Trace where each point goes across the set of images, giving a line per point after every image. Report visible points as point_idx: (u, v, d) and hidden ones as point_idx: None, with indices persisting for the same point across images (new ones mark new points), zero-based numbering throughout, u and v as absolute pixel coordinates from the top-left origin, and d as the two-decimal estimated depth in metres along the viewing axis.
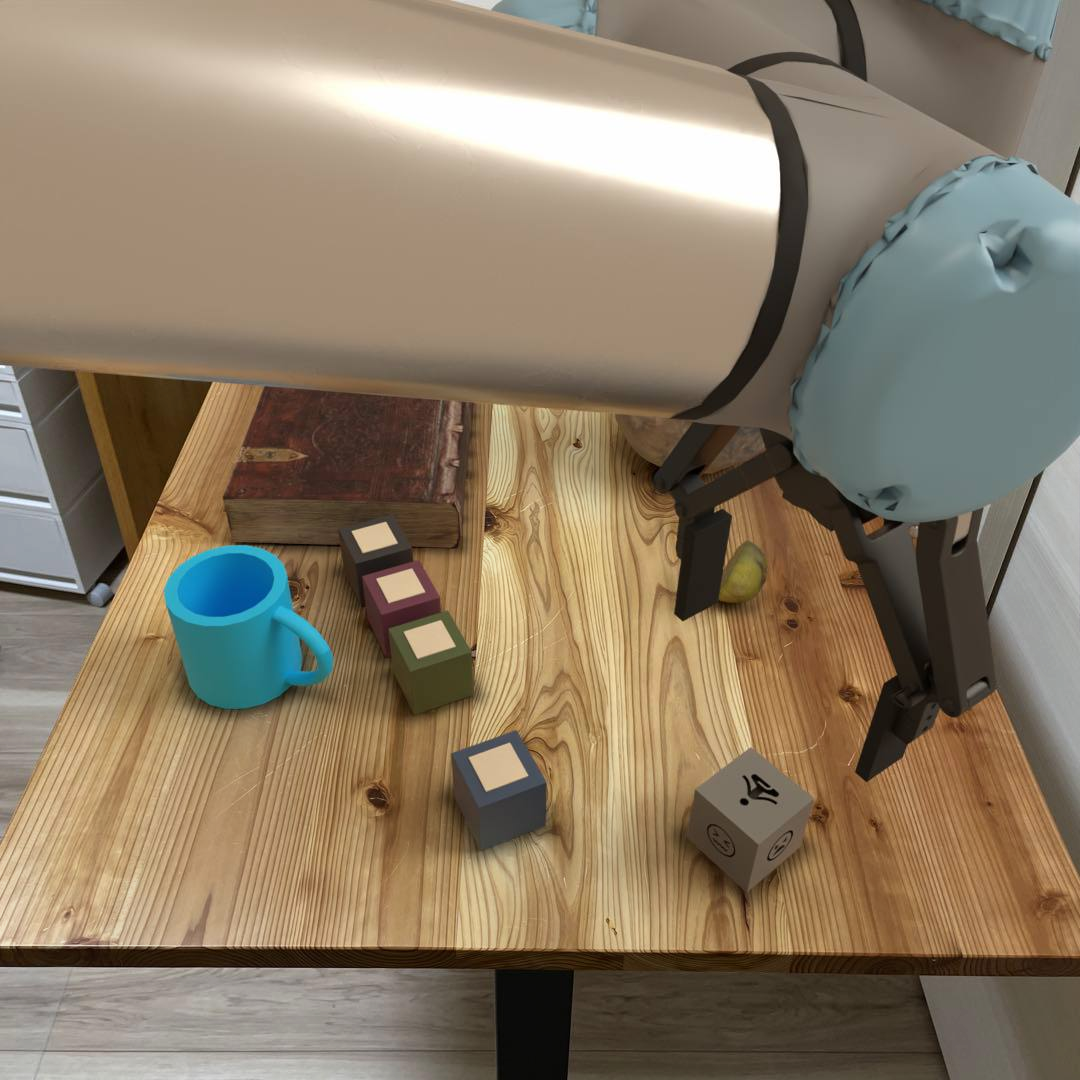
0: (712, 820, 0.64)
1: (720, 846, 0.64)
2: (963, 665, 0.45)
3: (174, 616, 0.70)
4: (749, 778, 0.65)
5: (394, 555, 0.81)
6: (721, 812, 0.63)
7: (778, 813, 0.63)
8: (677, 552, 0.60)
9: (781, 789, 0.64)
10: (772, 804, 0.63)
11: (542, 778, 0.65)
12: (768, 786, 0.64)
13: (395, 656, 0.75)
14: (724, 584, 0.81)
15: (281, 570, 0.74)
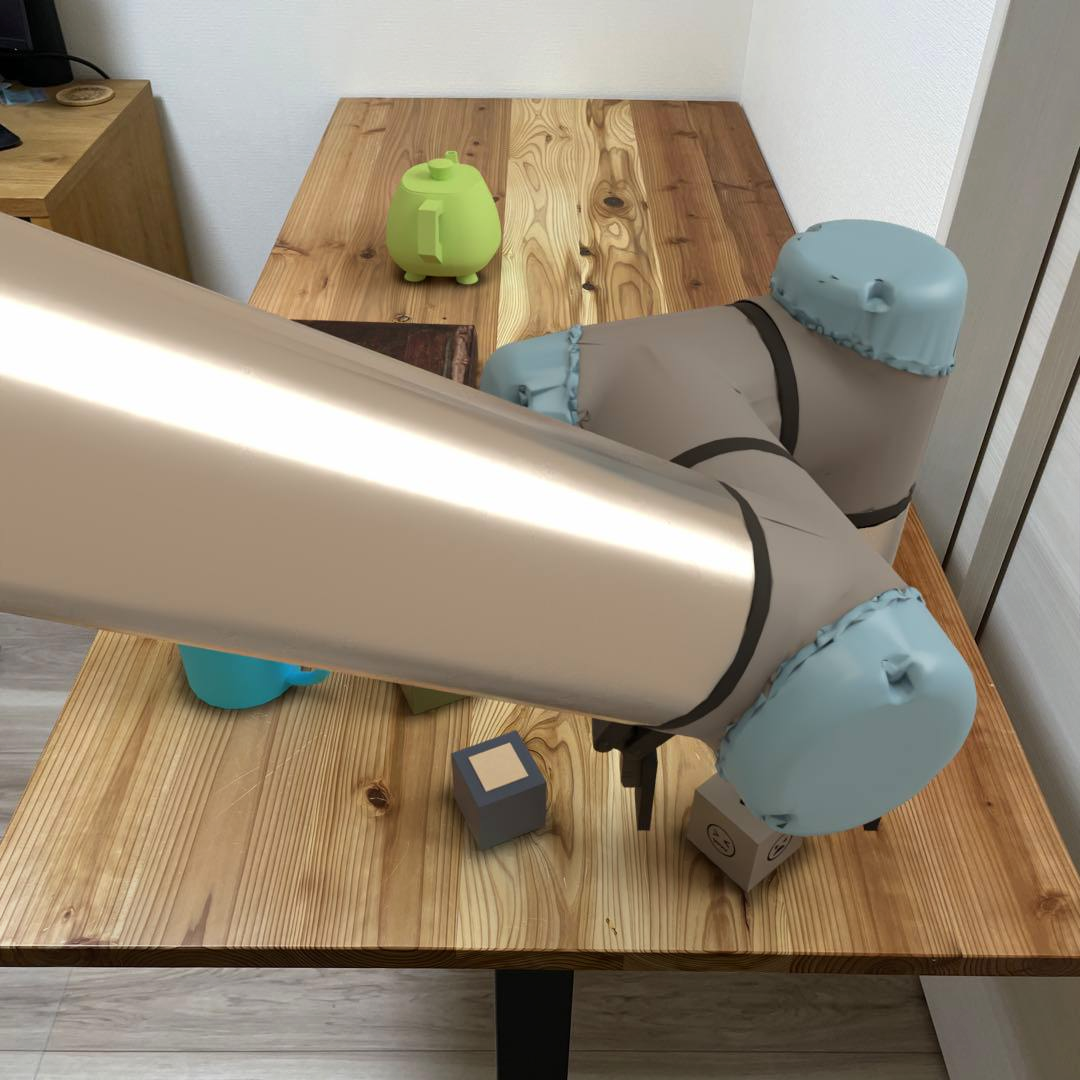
0: (712, 820, 0.64)
1: (720, 846, 0.64)
2: None
3: None
4: None
5: None
6: (721, 812, 0.63)
7: None
8: (624, 784, 0.62)
9: None
10: None
11: (542, 778, 0.65)
12: None
13: None
14: None
15: None
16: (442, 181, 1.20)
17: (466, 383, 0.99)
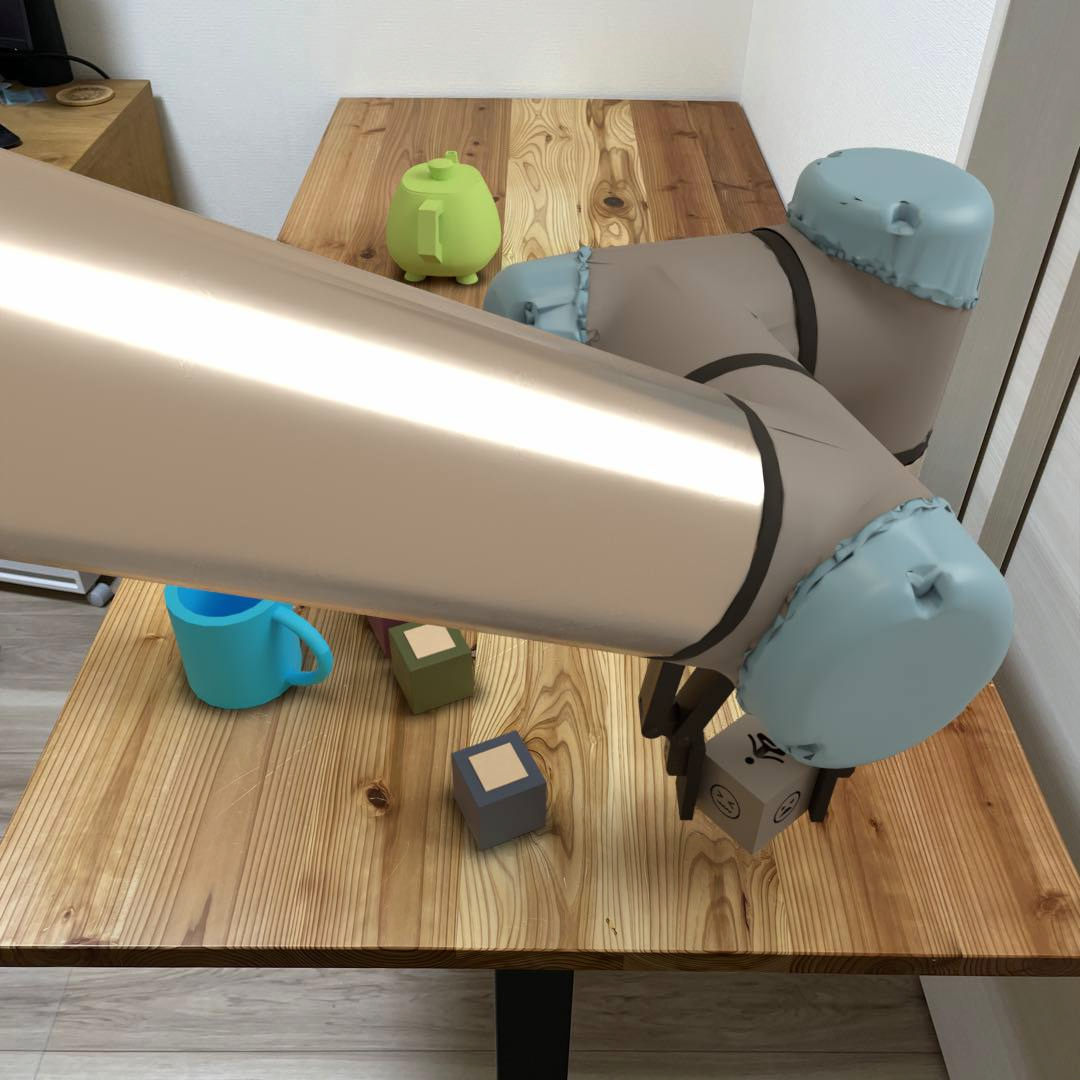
0: (716, 780, 0.61)
1: (724, 808, 0.62)
2: None
3: (174, 616, 0.70)
4: (754, 737, 0.62)
5: None
6: (726, 771, 0.60)
7: (784, 772, 0.60)
8: (669, 772, 0.61)
9: None
10: (779, 763, 0.60)
11: (542, 778, 0.65)
12: (774, 745, 0.62)
13: (395, 656, 0.75)
14: None
15: None
16: (442, 181, 1.20)
17: None
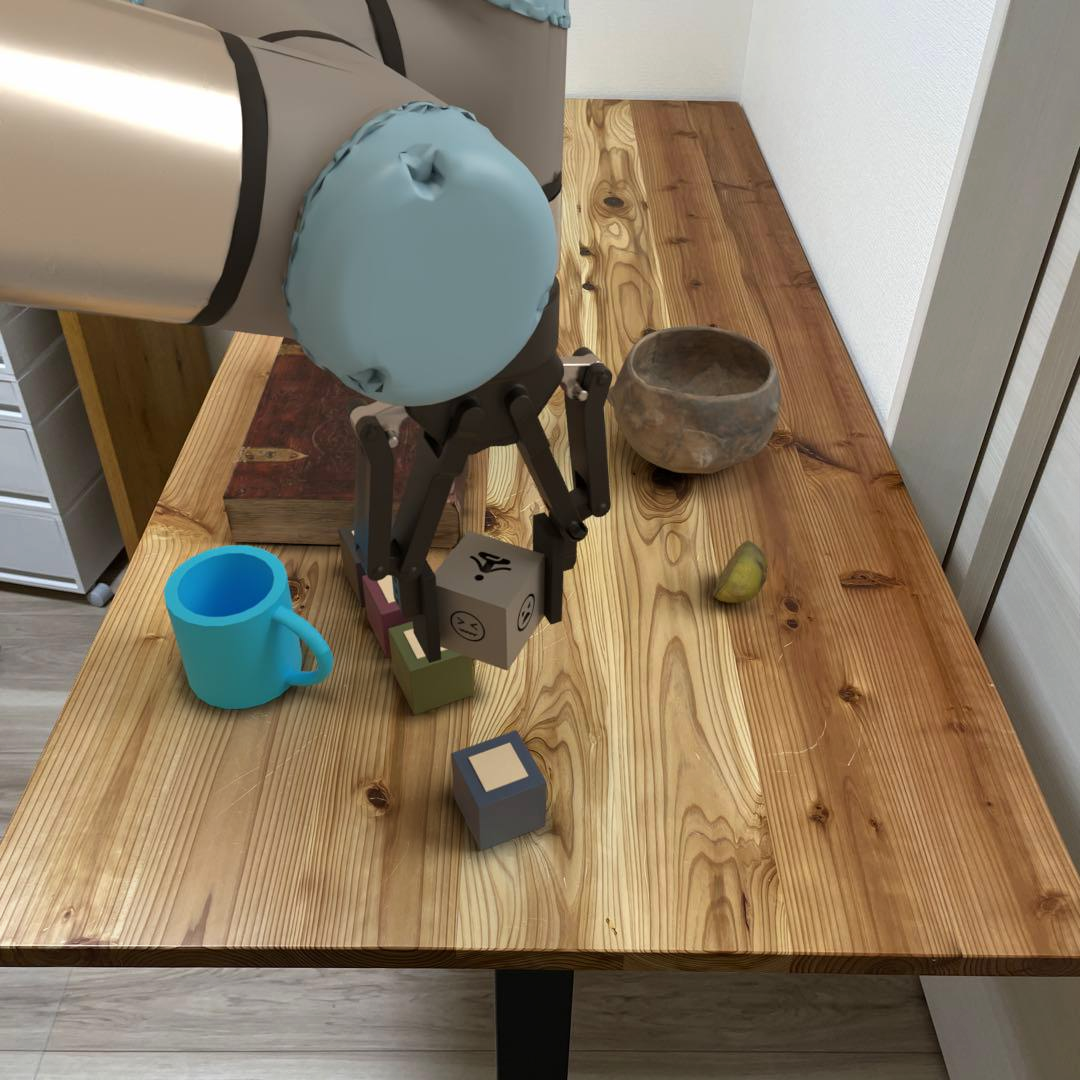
0: (453, 608, 0.60)
1: (468, 633, 0.61)
2: None
3: (174, 616, 0.70)
4: (477, 556, 0.62)
5: None
6: (460, 593, 0.59)
7: (514, 577, 0.60)
8: (405, 615, 0.60)
9: (511, 556, 0.62)
10: (507, 571, 0.61)
11: (542, 778, 0.65)
12: (497, 558, 0.62)
13: (395, 656, 0.75)
14: (724, 584, 0.81)
15: (281, 570, 0.74)
16: None
17: None
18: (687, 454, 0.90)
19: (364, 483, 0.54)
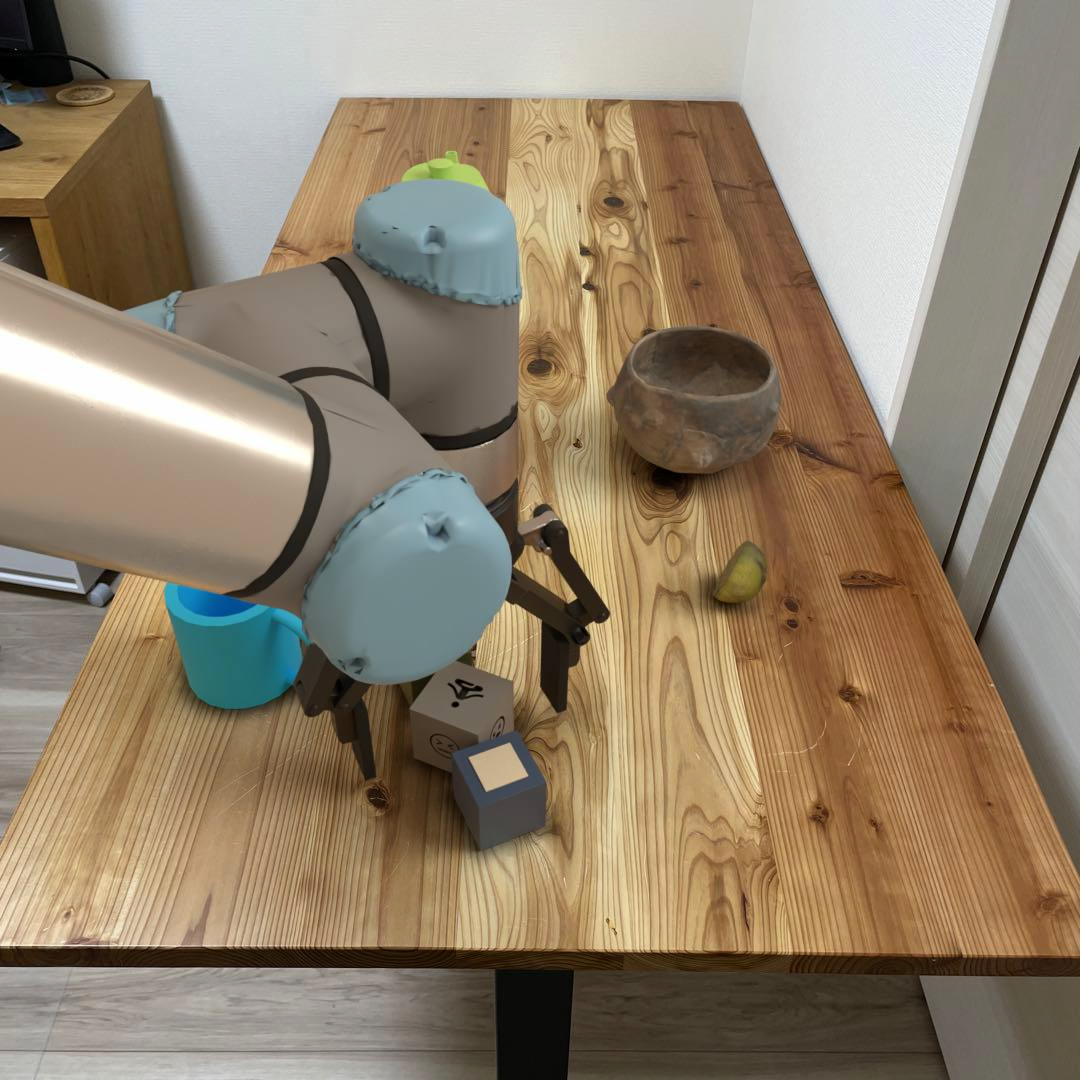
0: (432, 731, 0.69)
1: (446, 752, 0.70)
2: None
3: (174, 616, 0.70)
4: (453, 684, 0.70)
5: None
6: (438, 720, 0.68)
7: (486, 703, 0.69)
8: (342, 741, 0.66)
9: (483, 683, 0.70)
10: (480, 698, 0.69)
11: (542, 778, 0.65)
12: (472, 685, 0.70)
13: None
14: (724, 584, 0.81)
15: None
16: None
17: None
18: (687, 454, 0.90)
19: None
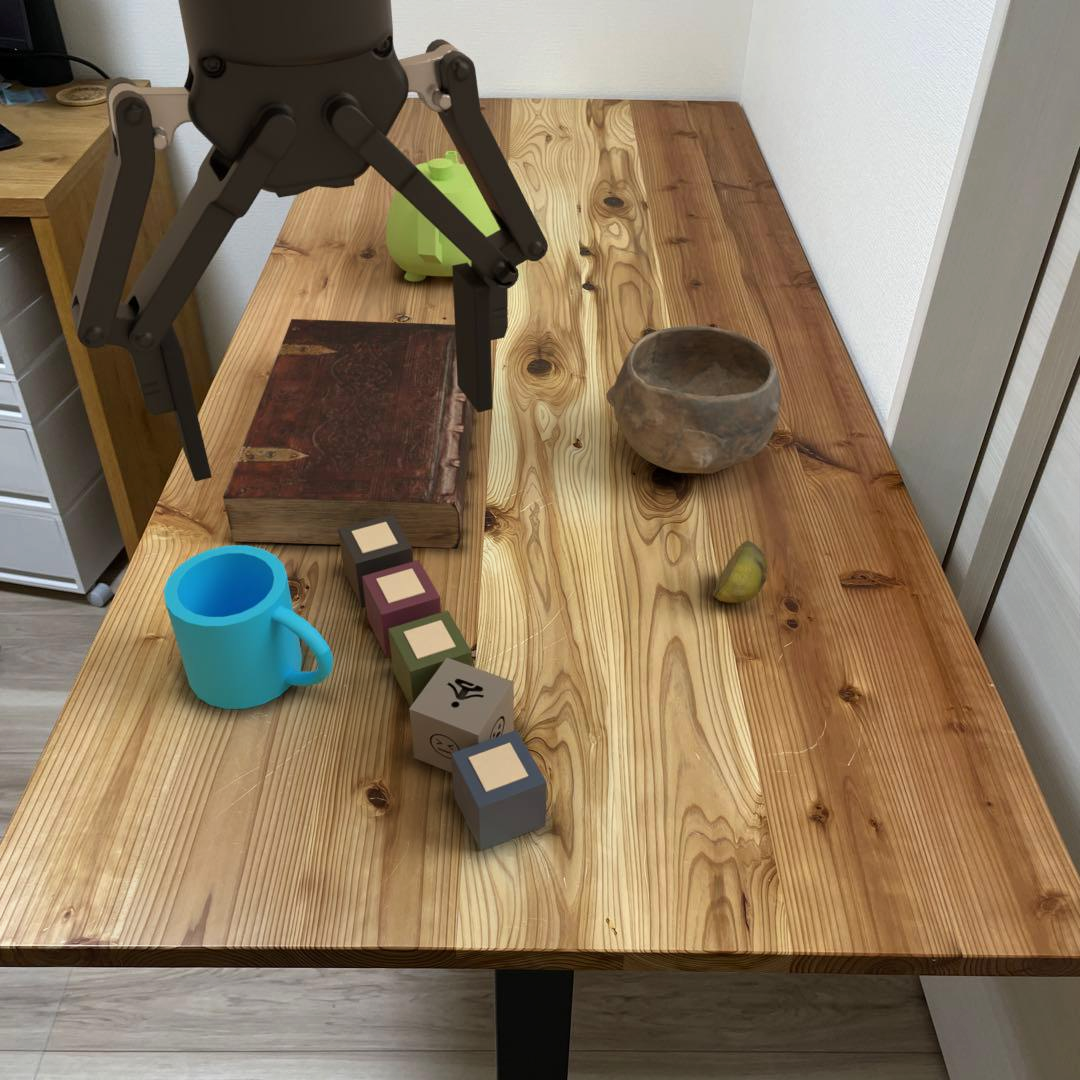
0: (432, 731, 0.69)
1: (446, 752, 0.70)
2: None
3: (174, 616, 0.70)
4: (453, 684, 0.70)
5: (394, 555, 0.81)
6: (438, 720, 0.68)
7: (486, 703, 0.69)
8: (152, 409, 0.45)
9: (483, 683, 0.70)
10: (480, 698, 0.69)
11: (542, 778, 0.65)
12: (472, 685, 0.70)
13: (395, 656, 0.75)
14: (724, 584, 0.81)
15: (281, 570, 0.74)
16: (442, 181, 1.20)
17: None
18: (687, 454, 0.90)
19: (105, 198, 0.40)
